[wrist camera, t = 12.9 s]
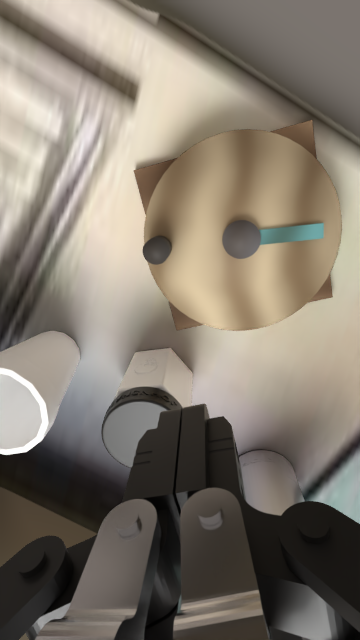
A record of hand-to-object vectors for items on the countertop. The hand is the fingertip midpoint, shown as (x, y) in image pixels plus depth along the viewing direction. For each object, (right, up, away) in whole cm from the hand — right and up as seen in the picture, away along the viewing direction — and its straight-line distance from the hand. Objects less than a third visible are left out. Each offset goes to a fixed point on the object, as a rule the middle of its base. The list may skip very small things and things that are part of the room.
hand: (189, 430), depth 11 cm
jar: (-3, -4, +32) cm, 33 cm away
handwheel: (+6, +12, +23) cm, 27 cm away
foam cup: (-16, -1, +32) cm, 36 cm away
